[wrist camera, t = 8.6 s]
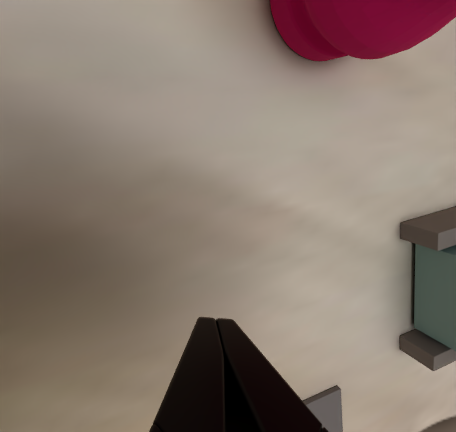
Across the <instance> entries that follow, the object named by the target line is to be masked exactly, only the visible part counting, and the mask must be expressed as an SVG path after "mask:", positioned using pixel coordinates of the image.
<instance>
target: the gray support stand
mask: <svg viewBox="0 0 456 432" xmlns="http://www.w3.org/2000/svg"><path fill="white" fill-rule="evenodd" d="M400 239H403V240H406V241H409V242H412V243H415V244H418V245H421V246H424V247H427V248H430V249H433V250H436V251H439V250H442V249H445V248H448V247H451V246H454V245H456V207H452V208H449V209H446V210H442V211H439V212H435V213H432V214H428V215H425V216H422V217H418V218H415V219H411V220H408V221H405V222H401V238H400ZM400 350H402V351H403V352H405V353H406V354H408V355H409V356H411V357H412V358H414V359H415V360H417V361H419V362H420V363H422V364H423V365H425V366H426V367H428V368H429V369H431V370H432V371H435V370H437V369H439V368H442V367H444V366H446V365H448V364H450V363H452V362H454V361H456V351H454V350H453V349H451V348H449V347H447V346H446V345H444V344H442V343H440V342H439V341H437V340H435V339H433V338H432V337H430V336H428V335H426V334H425V333H423V332H421V331H419V330H418V329H415V330H412V331H410V332H408V333H405V334H403V335H401V336H400Z"/></svg>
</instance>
